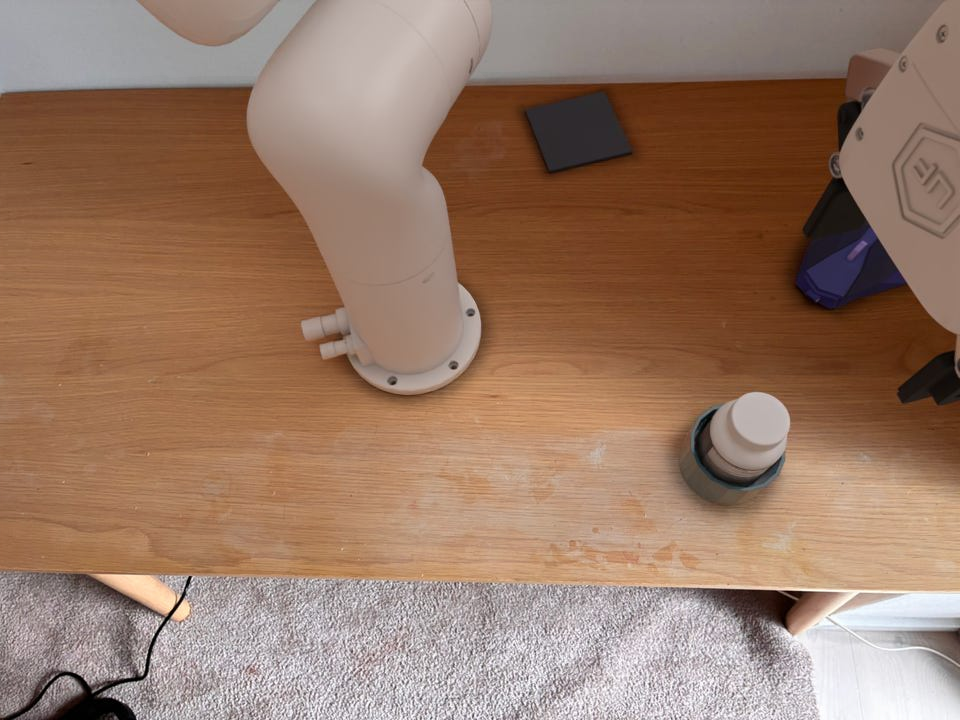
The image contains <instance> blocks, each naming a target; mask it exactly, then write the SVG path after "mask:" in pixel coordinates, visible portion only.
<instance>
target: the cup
mask: <svg viewBox="0 0 960 720" xmlns="http://www.w3.org/2000/svg"><path fill="white" fill-rule="evenodd" d="M724 404H725V403H722V404H718V405H713V406H710V407H709V408H707V409H706V410H705V411H704V412H703V413H701V414H700V415H698V417H697V418H696V419H695V421H694V423H693V424H692V426H691V428H690V429H689V430H688V432H687V433H686V435H685V437H684V439H683V440H682V443H681V445H680V448H679V452H678V467H679V471H680V472H681V473H680V474H681V476H682V478H683V480H684V482H685V483H686V485H687V486H688V488H690V490H691V491H692V492H693V493H694V494H696V495H697V496H698V497H700V498H701V499H703V500H704V501H707V502H709V503H712V504H715V505H717V506H725V507H728V506H729V507H731V506H738V505H742V504H745V503H746V502H749V501H751V500H752V499H754V498H755V497H756V496H757V495H758V494H759V493H761V492H762V491H763V490H765V488H766V487H768V486H769V485H770V484H771V483H772V482H773V481H774V480H776V479H777V478H778V477H779V476H780V474H781V471H782V469H783V467H784V465H785V462H786V449H785V450H784V452H783V454H782V456H781V457H780V458H779V459H778V460H777V461H776V462H775V463H774V464H773V465H772V466H771V467H770V468H769V469H768V470H766V471H765V472H764V473H763V474H762V475H761V476H760V477H759V478H758V479H757V480H756V481H755V482H754V483H752V484H751V485H750V486H748V487H739V486H730V485H728V484H726V483H724V482H722V481H720V480H718V479H716V478H714V477H713V476H712V475H711V474H710V473H709V472H708V471H707V470H706V469H705V468H704V467H703V466H702V465H701V463H700V460H699V458H698V456H697V453H696V451H695V443H696V441H697V439H698V438H699V436H700V435H701V433H702V432H703V431H704V429H705V428H706V426H707V425H708V423H709V422H710V420H711V419H712V417H713V416H714V414H715V413H716V411H717V410H718V409H719V408H720V407H721V406H722V405H724Z"/></svg>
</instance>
